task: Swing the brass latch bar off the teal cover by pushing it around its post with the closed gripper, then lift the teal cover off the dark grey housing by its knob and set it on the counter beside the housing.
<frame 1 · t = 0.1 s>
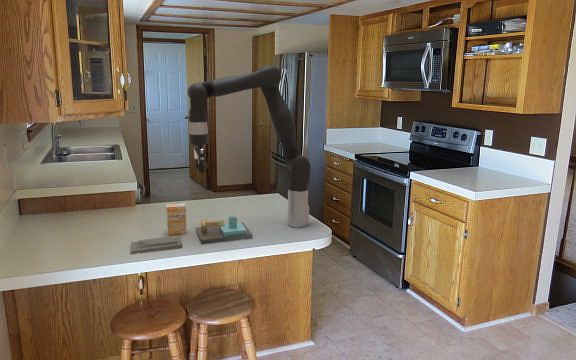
hand: (199, 170, 199), 29 cm above the countertop, tool pointing down, fingers open, 8 cm apart
soap mold: (156, 248, 193), on the countertop
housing: (223, 235, 206), on the countertop
cover: (232, 230, 206), point 2 cm above the countertop, touching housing
supplement box: (177, 233, 208), on the countertop
latch: (212, 224, 207), point 4 cm above the countertop, hinge at 0.0°
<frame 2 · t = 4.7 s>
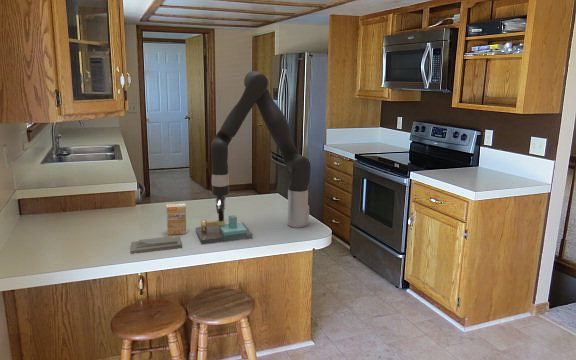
hand: (221, 220, 210), 5 cm above the countertop, tool pointing down, fingers closed
latch: (212, 224, 206), point 4 cm above the countertop, hinge at 2.6°, touching gripper
everything else where it was.
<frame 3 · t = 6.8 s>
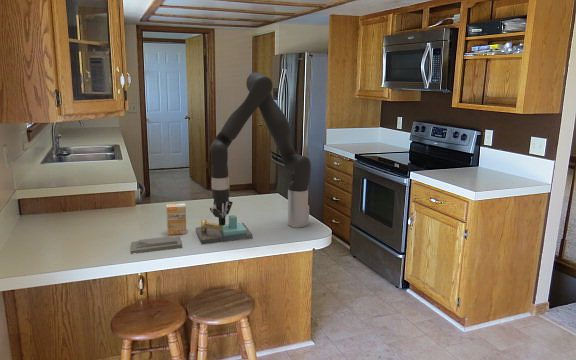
hand: (222, 225, 204), 5 cm above the countertop, tool pointing down, fingers closed
latch: (211, 226, 204), point 4 cm above the countertop, hinge at 43.5°, touching gripper
everything else where it was.
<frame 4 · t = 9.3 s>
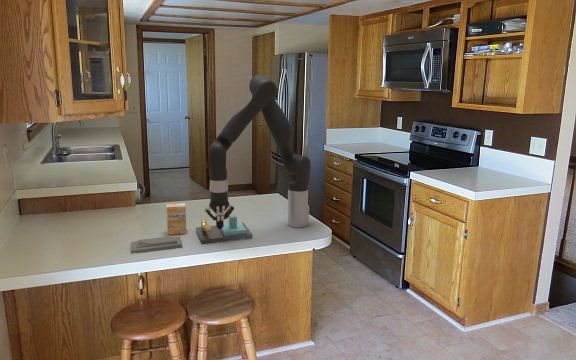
hand: (220, 228, 200), 5 cm above the countertop, tool pointing down, fingers closed
latch: (206, 228, 202), point 4 cm above the countertop, hinge at 84.3°
everything else where it was.
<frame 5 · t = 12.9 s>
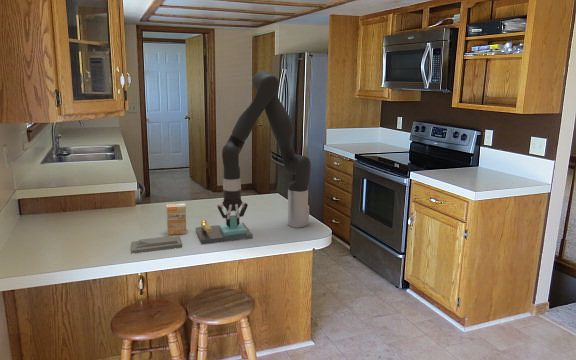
hand: (232, 225, 206), 4 cm above the countertop, tool pointing down, fingers closed on cover, 3 cm apart
cover: (232, 230, 206), point 2 cm above the countertop, touching gripper, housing
everything else where it was.
when the fingers open (4 cm above the countertop, at t = 18.4 s): cover drops 2 cm, on the countertop.
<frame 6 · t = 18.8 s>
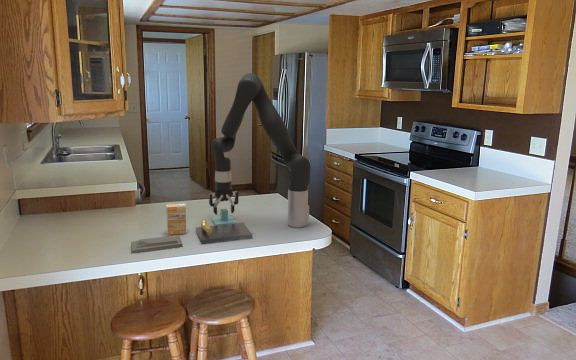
hand: (224, 213, 222), 4 cm above the countertop, tool pointing down, fingers open, 7 cm apart
cover: (224, 223, 223), on the countertop
everything else where it was.
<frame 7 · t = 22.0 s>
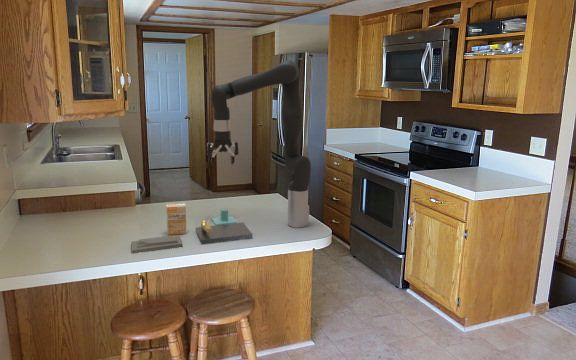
hand: (223, 164, 216), 28 cm above the countertop, tool pointing down, fingers open, 8 cm apart
nothing on the countertop moved.
at the end: latch at +84° (first picture: +0°); cover inside the target area (0.2 cm from its centre), on the countertop; cover tilted 0° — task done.
